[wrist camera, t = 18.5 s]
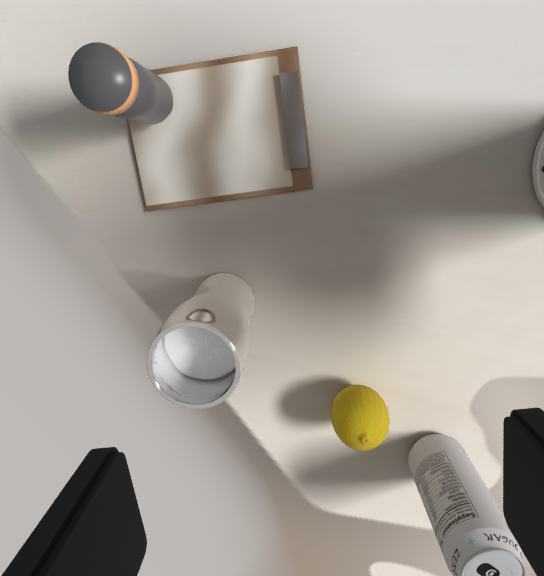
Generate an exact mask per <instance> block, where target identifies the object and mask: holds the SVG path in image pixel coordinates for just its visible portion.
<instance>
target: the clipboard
mask: <svg viewBox="0 0 544 576" xmlns="http://www.w3.org/2000/svg"><path fill="white" fill-rule="evenodd" d="M150 71H151V72H153V73H154V74H156V75H157V76H159V77H161V78H162V79H163V80H164V81H165V82H166V83H167V84H168V86H169V87H170V89H171V92H172V95H173V109H172V112H171V114H170V115H169V116H168V117H167V118H166V119H165V120H164V121H162V122H160V123H158V124H152V125H151V124H145V123H141V122H137V121H133V120H129V119H127V123H128V127H129V132H130V137H131V142H132V146H133V151H134V156H135V161H136V166H137V170H138V175H139V180H140V185H141V189H142V194H143V199H144V204H145V209H146V211H152V210H159V209H167V208H174V207H181V206H189V205H196V204H203V203H211V202H218V201H225V200H233V199H240V198H247V197H255V196H262V195H269V194H277V193H284V192H292V191H299V190H306V189H313V186H312V177H311V168H310V158H309V149H308V140H307V131H306V122H305V112H304V103H303V94H302V85H301V76H300V67H299V57H298V48H297V47H291V48H285V49H279V50H273V51H267V52H260V53H254V54H248V55H242V56H236V57H230V58H223V59H217V60H211V61H205V62H199V63H193V64H186V65H180V66H174V67H168V68H162V69H156V70H150Z"/></svg>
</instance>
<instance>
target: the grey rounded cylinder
mask: <svg viewBox="0 0 544 576" xmlns="http://www.w3.org/2000/svg"><path fill="white" fill-rule="evenodd" d="M68 75H69V83H70V86H71V89H72V91H73V93H74V95H75V96H76V98H77V99H78V100H79V101H80V102H81V103H82V104H83V105H84V106H85V107H87V108H88V109H90V110H92V111H95V112H99V113H103V114H107V115H113V116H117V117H121V118H125V119H129V120H133V121H137V122H141V123H145V124H151V125H152V124H158V123H160V122H162V121H164V120H165V119H166V118H167V117H168V116H169V115H170V114H171V112H172V109H173V95H172V92H171V89H170V87H169V86H168V84H167V83H166V82H165V81H164V80H163V79H162V78H161V77H159V76H157V75H156V74H154V73H153V72H151V71H150V70H148V69H146V68H145V67H143V66H142V65H140V64H138V63H137V62H135V61H134V60H132V59H131V58H129V57H128V56H126V55H125V54H124V53H122V52H121V51H119V50H118V49H116V48H115V47H113V46H111V45H109V44H106V43H98V42H97V43H90V44H87V45H84V46H83V47H81V48H80V49H79V50H77V52H76V53H75V54H74V56H73V57H72V59H71V62H70V65H69V73H68Z"/></svg>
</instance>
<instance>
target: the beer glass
mask: <svg viewBox="0 0 544 576" xmlns="http://www.w3.org/2000/svg"><path fill="white" fill-rule="evenodd" d="M254 308H255V298H254V294H253V292H252V290H251V288H250V286H249V285H248V284H247V283H246V282H245V281H244V280H243V279H241V278H240V277H238V276H236V275H233V274H229V273H219V274H215V275H212V276H210V277H208V278H207V279H205V280H204V281H203V282H202V283H201V284H200V286H199V287H198V289H197V292H196V295H195V296H194V297H192V298H190V299H188V300H186V301H185V302H184V303H182V304H181V305H179V306H178V307H177V308H176V309H175V310H174V311H173V312H172V313H171V314H170V316H169V317H168V318H167V319H166V321H165V322H164V324H163V325H162V327H161V329H160V331H159V332H158V334H157V336H156V338H155V339H154V340H153V342H152V344H151V346H150V348H149V351H148V355H147V370H148V374H149V377H150V380H151V382H152V384H153V386H154V387H155V388H156V390H157V391H158V392H159V393H160V394H161V395H162V396H163V397H164V398H166V399H167V400H168V401H170V402H172V403H174V404H176V405H179V406H181V407H185V408H190V409H203V408H209V407H212V406H215V405H217V404H219V403H221V402H223V401H224V400H225V399H227V398H228V397H229V396H230V395H231V394H232V392H233V391H234V390H235V388H236V386H237V384H238V382H239V378H240V376H241V373H242V371H243V369H244V366H245V363H246V360H247V357H248V353H249V347H250V327H249V320H250V318H251V316H252V314H253V312H254Z"/></svg>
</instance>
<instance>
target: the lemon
mask: <svg viewBox="0 0 544 576" xmlns="http://www.w3.org/2000/svg"><path fill="white" fill-rule="evenodd" d="M331 421H332V424H333V427H334V430H335V432H336V434H337V435H338V437H339V438H340V440H341V441H342V442H343V443H345V444H346V445H347V446H348V447H350V448H352V449H355V450H359V451H367V450H371V449H374V448H376V447H377V446H379V445H380V444H381V443H382V442H383V441H384V439H385V438H386V435H387V433H388V429H389V414H388V409H387V407H386V405H385V402H384V400H383V399H382V398H381V397H380V395H379V394H378V393H377V392H376V391H374V390H373V389H371V388H369V387H367V386H364V385H352V386H349V387H346V388H344V389H343V390H341V391H340V392H339V393H338V394H337V395H336V397H335V399H334V401H333V404H332V408H331Z"/></svg>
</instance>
